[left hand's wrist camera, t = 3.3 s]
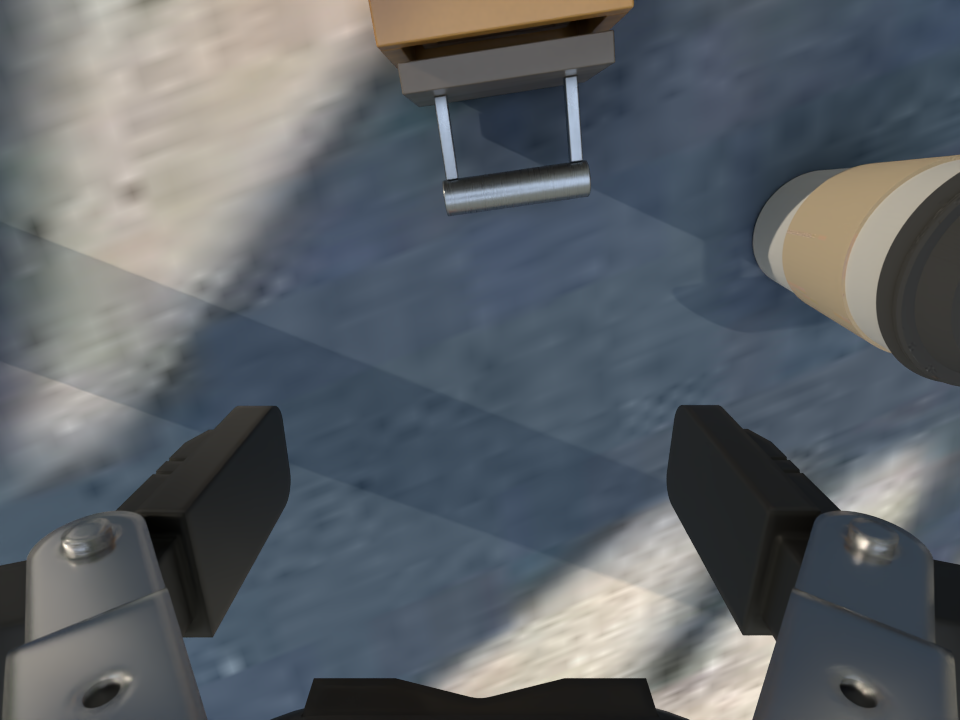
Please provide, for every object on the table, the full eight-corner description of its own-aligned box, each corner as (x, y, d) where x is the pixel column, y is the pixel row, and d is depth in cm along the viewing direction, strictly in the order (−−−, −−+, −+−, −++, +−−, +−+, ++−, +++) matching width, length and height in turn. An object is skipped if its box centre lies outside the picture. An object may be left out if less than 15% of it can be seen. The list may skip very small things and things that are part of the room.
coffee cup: (918, 229, 33) (1253, 286, 18) (791, 333, 35) (1003, 455, 21) (833, 112, 30) (1141, 78, 16) (703, 232, 33) (875, 293, 19)
